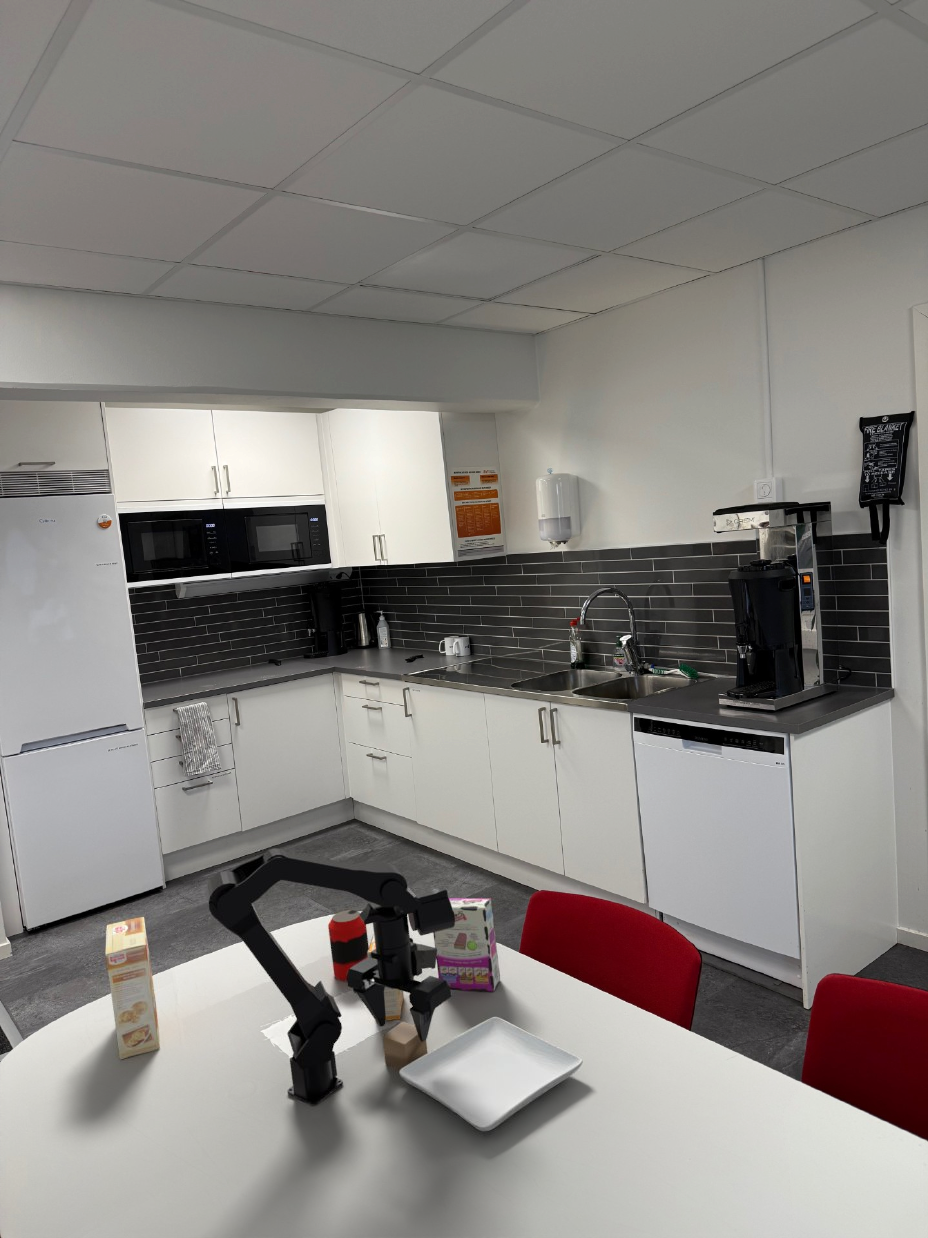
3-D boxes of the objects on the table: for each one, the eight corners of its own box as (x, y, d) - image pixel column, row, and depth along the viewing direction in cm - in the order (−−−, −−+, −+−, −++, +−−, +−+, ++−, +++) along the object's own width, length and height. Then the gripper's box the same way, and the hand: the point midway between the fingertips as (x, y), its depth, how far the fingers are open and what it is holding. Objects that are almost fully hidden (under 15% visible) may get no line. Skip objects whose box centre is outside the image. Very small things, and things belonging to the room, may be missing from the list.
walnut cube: (408, 1074, 139) (404, 1044, 139) (385, 1065, 143) (382, 1036, 142) (428, 1058, 143) (424, 1029, 143) (405, 1050, 146) (402, 1021, 146)
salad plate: (397, 1090, 136) (394, 1069, 136) (496, 1032, 149) (494, 1013, 149) (485, 1152, 120) (483, 1128, 119) (588, 1080, 133) (586, 1059, 133)
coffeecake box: (161, 1049, 155) (146, 944, 153) (118, 1061, 152) (103, 955, 151) (158, 1011, 169) (144, 915, 167) (119, 1022, 166) (105, 924, 165)
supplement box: (401, 1020, 156) (392, 950, 155) (374, 1022, 156) (366, 952, 155) (405, 996, 164) (397, 930, 163) (380, 999, 164) (372, 932, 163)
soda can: (378, 967, 177) (372, 911, 177) (355, 985, 171) (348, 926, 170) (350, 961, 181) (343, 906, 181) (326, 978, 175) (319, 921, 174)
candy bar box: (501, 979, 167) (492, 897, 166) (494, 993, 162) (485, 908, 161) (446, 977, 170) (437, 896, 169) (438, 990, 165) (429, 907, 164)
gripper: (467, 932, 142) (477, 1024, 143) (385, 913, 154) (394, 997, 155) (423, 961, 133) (433, 1058, 134) (339, 938, 145) (349, 1027, 146)
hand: (402, 1033), depth 143 cm, fingers open, 9 cm apart
